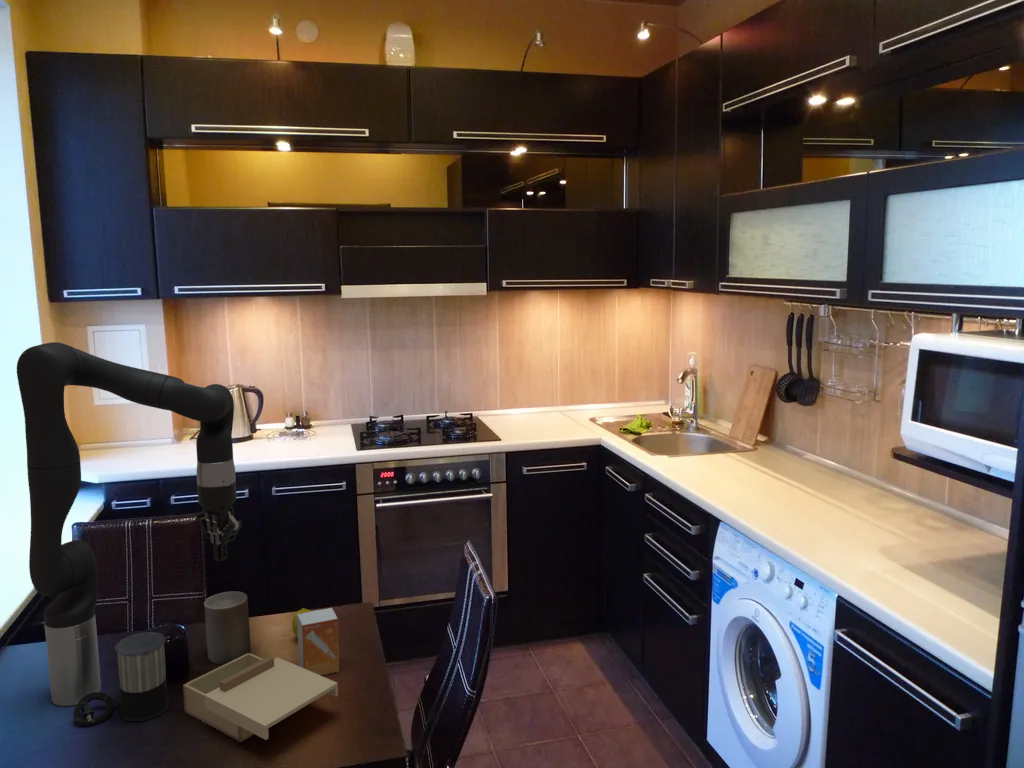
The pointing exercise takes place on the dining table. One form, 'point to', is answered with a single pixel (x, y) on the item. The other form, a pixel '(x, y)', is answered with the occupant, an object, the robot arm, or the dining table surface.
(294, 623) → the lemon
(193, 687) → the tray
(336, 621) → the small box
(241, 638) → the pillar candle
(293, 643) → the dining table surface
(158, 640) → the milk frother
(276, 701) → the lid
